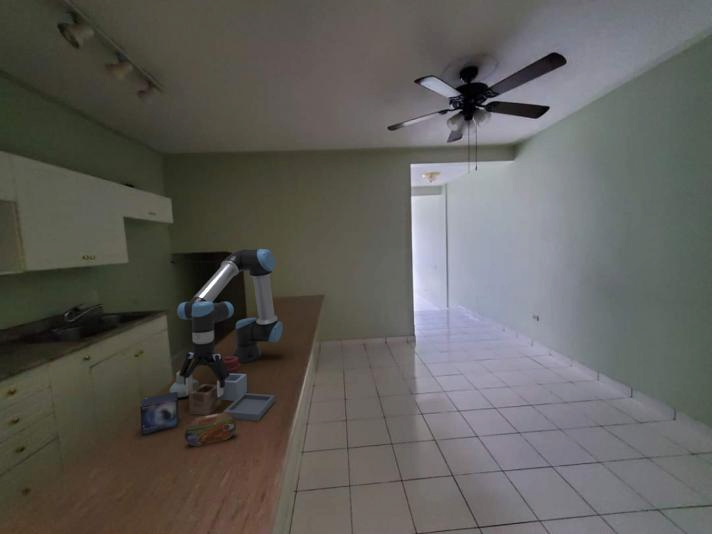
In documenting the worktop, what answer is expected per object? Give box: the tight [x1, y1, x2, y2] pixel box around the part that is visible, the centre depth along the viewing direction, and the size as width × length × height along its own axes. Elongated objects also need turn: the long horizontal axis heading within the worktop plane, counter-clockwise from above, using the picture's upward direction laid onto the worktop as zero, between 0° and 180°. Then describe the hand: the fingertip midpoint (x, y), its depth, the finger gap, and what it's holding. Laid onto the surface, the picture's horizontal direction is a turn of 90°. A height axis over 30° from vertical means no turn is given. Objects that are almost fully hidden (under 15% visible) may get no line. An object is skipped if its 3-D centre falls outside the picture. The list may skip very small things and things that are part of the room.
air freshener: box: [169, 370, 200, 398], centre depth 123 cm, size 11×8×10 cm
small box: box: [139, 392, 180, 436], centre depth 100 cm, size 11×6×10 cm, turn 118°
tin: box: [184, 412, 237, 447], centre depth 92 cm, size 15×3×8 cm, turn 108°
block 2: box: [221, 373, 248, 402], centre depth 122 cm, size 8×8×8 cm
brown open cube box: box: [188, 383, 222, 416], centre depth 111 cm, size 8×8×8 cm
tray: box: [222, 392, 276, 422], centre depth 111 cm, size 14×14×2 cm
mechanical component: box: [222, 355, 241, 374], centre depth 134 cm, size 12×10×10 cm
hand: (204, 394), depth 111 cm, fingers open, 13 cm apart
